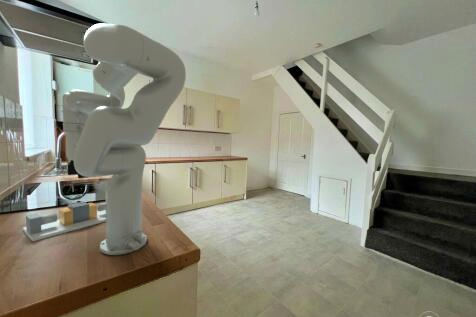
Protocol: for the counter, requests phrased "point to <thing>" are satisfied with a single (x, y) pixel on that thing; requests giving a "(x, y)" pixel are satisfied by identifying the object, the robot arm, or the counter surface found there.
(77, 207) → the block
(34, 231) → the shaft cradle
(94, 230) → the counter surface
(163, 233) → the counter surface
